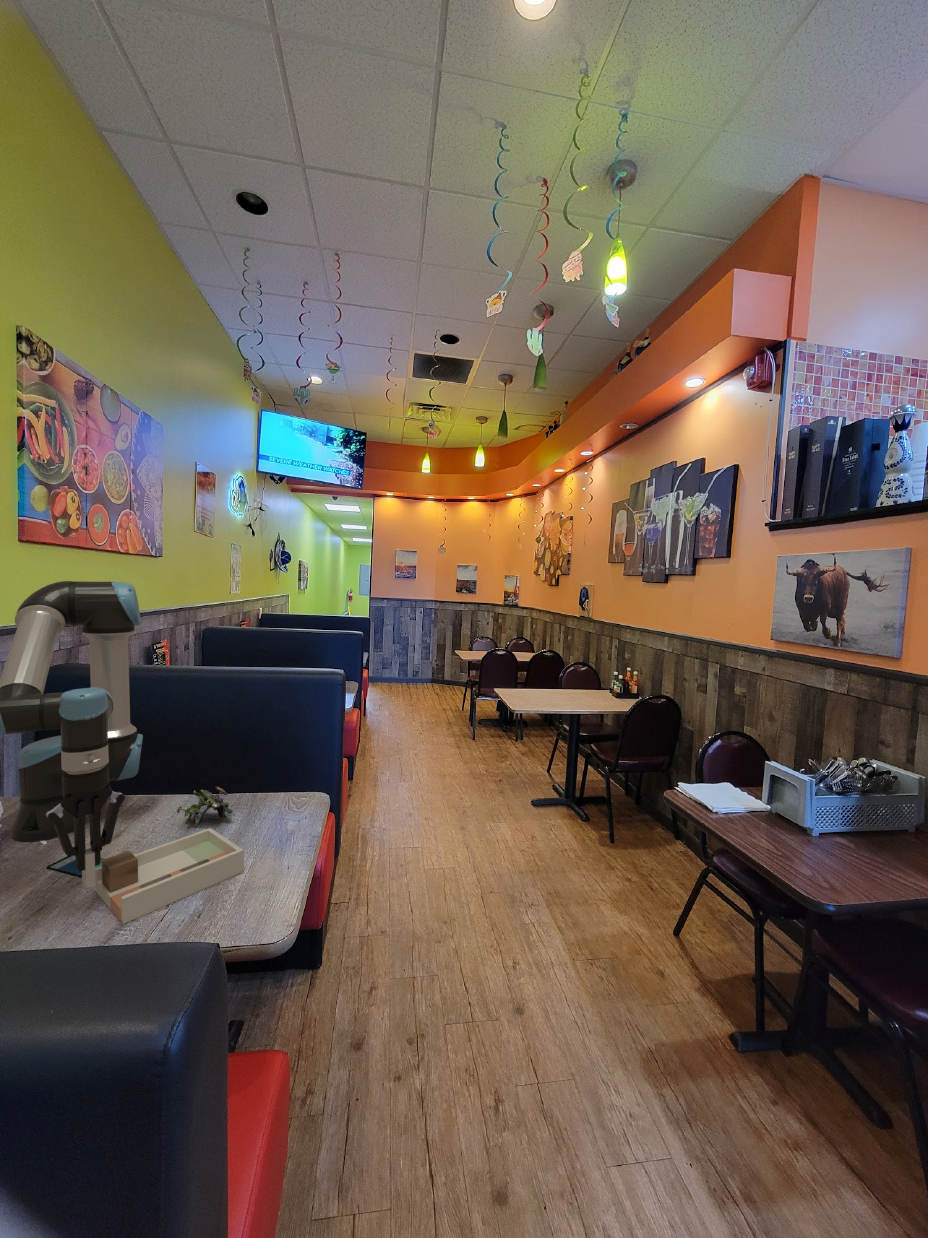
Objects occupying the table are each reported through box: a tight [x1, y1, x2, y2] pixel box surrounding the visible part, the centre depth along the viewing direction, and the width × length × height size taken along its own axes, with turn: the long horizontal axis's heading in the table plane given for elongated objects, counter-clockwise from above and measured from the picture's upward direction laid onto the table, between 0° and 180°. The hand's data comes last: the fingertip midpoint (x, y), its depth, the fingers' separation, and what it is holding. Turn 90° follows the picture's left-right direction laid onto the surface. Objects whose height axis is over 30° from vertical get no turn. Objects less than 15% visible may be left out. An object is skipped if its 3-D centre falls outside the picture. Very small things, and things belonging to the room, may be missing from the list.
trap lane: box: [94, 827, 245, 925], centre depth 113 cm, size 16×24×5 cm, turn 141°
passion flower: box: [176, 786, 233, 829], centre depth 140 cm, size 11×11×12 cm
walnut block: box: [102, 850, 138, 893], centre depth 107 cm, size 5×5×5 cm
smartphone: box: [45, 855, 105, 879], centre depth 118 cm, size 7×1×15 cm
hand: (88, 883), depth 103 cm, fingers closed
